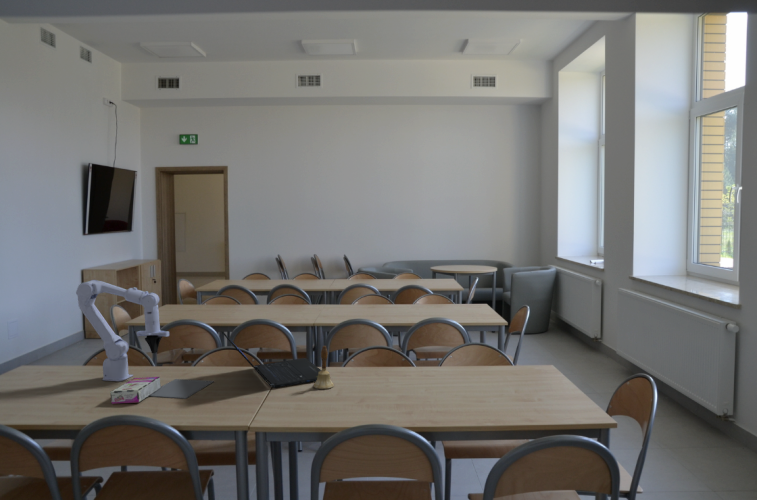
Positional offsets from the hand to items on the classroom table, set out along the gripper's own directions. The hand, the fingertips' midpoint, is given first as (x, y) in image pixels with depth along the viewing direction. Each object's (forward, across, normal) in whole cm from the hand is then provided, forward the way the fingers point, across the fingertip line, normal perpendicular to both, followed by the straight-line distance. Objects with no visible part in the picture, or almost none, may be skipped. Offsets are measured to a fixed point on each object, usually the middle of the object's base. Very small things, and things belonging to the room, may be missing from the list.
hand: (154, 352), depth 231 cm
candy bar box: (+8, +8, -16) cm, 19 cm away
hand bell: (+11, +77, -1) cm, 78 cm away
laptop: (+12, +52, +8) cm, 54 cm away
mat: (+11, +21, -13) cm, 27 cm away
